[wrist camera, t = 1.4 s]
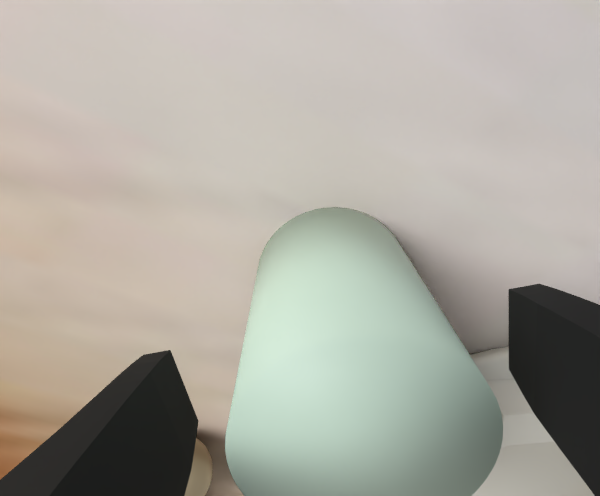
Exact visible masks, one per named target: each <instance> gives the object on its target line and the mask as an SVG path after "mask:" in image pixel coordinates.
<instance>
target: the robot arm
mask: <svg viewBox="0 0 600 496" xmlns="http://www.w3.org/2000/svg"><path fill="white" fill-rule="evenodd" d="M509 370H510V372H511V374H512V376H513V378H514V379H515V381H516V383H517V385H518V387H519V388H520V390H521V392H522V394H523V396H524V397H525V399H526V401H527V402H528V404H529V406H530V407H531V409H532V411H533V413H534V414H535V416H536V417H537V418H538V420H539V421H540V422H541V424H542V425H543V427H544V428H545V429H546V431H547V432H548V433H549V435H550V436H551V438H552V439H553V440H554V442H555V443H556V444H557V446H558V447H559V448H560V450H561V451H562V452H563V454H564V455H565V456H566V458H567V459H568V460H569V462H570V463H571V464H572V466H573V467H574V468H575V470H576V471H577V472H578V474H579V475H580V477H581V478H582V479H583V481H584V482H585V483H586V485H587V486H588V487H589V489H590V490H591V491H592V493H593V494H594V495H595V496H600V305H598V304H596V303H593V302H590V301H588V300H585V299H582V298H580V297H577V296H574V295H571V294H569V293H566V292H563V291H560V290H557V289H554V288H551V287H548V286H545V285H541V284H536V285H530V286H525V287H519V288H514V289H509ZM197 427H198V419H197V417H196V414H195V412H194V409H193V406H192V404H191V401H190V399H189V396H188V394H187V391H186V389H185V386H184V384H183V381H182V379H181V376H180V374H179V371H178V368H177V366H176V363H175V361H174V358H173V356H172V353H171V351H170V350H168V351H163V352H157V353H152V354H146V355H143V356H141V357H140V358H139V359H138V360H136V361H135V362H134V363H132V364H131V365H130V366H129V367H128V368H127V369H125V370H124V371H123V372H122V373H121V374H120V375H119V376H118V377H116V378H115V379H114V380H113V381H112V382H111V383H110V384H109V385H108V386H106V387H105V388H104V389H103V390H102V391H101V392H100V393H99V394H98V395H97V396H96V397H94V398H93V399H92V400H91V401H90V402H89V403H88V404H87V405H86V406H84V407H83V408H82V409H81V410H80V411H79V412H78V413H77V414H76V415H75V416H73V417H72V418H71V419H70V420H69V421H68V422H67V423H66V424H65V425H64V426H62V427H61V428H60V429H59V430H58V431H57V432H56V433H55V434H53V435H52V436H51V437H50V438H49V439H48V440H46V441H45V442H44V443H43V444H42V445H41V446H39V447H38V448H37V449H36V450H35V451H34V452H32V453H31V454H30V455H29V456H28V457H27V458H25V459H24V460H23V461H22V462H21V463H20V464H18V465H17V466H16V467H15V468H14V469H13V470H11V471H10V472H9V473H8V474H7V475H5V476H4V477H3V478H2V479H1V480H0V496H185V492H186V488H187V484H188V481H189V477H190V473H191V469H192V463H193V456H194V450H195V443H196V435H197Z"/></svg>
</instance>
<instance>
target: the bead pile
mask: <svg viewBox="0 0 600 496" xmlns="http://www.w3.org/2000/svg"><path fill="white" fill-rule="evenodd" d="M212 473H213V465H212V460H211V456H210V454H209V451H208V450H207V448H206V446H205V445H204V444H203V443H202V442H201V441H200V440H199V439H197V438H196V443H195V450H194V456H193V463H192V469H191V473H190V477H189V481H188V484H187V488H186V492H185V496H205V495H206V493H207V491H208V489H209V486H210V483H211V480H212Z"/></svg>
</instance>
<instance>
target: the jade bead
mask: <svg viewBox="0 0 600 496" xmlns="http://www.w3.org/2000/svg"><path fill="white" fill-rule="evenodd" d="M502 440H503V421H502V414H501V410H500V407H499V404H498V401H497V399H496V397H495V395H494V393H493V392H492V390H491V388H490V386H489V385H488V383H487V381H486V380H485V378H484V377H483V375H482V374H481V372H480V370H479V369H478V367H477V366H476V364H475V363H474V361H473V359H472V358H471V356H470V355H469V353H468V351H467V350H466V348H465V347H464V345H463V344H462V342H461V340H460V339H459V337H458V336H457V334H456V333H455V331H454V329H453V328H452V326H451V325H450V323H449V321H448V320H447V318H446V317H445V315H444V314H443V312H442V310H441V309H440V307H439V306H438V304H437V302H436V301H435V299H434V298H433V296H432V295H431V293H430V291H429V290H428V288H427V287H426V285H425V284H424V282H423V280H422V279H421V277H420V276H419V274H418V272H417V271H416V269H415V268H414V266H413V265H412V263H411V261H410V260H409V258H408V257H407V255H406V254H405V252H404V250H403V249H402V247H401V246H400V244H399V242H398V241H397V239H396V238H395V236H394V235H393V234H392V233H391V231H390V230H389V229H388V228H387V227H386V226H384V225H383V224H382V223H381V222H379V221H378V220H377V219H375V218H373V217H371V216H369V215H367V214H365V213H362V212H360V211H357V210H352V209H348V208H338V207H332V208H321V209H315V210H312V211H309V212H305V213H303V214H301V215H299V216H296V217H295V218H293V219H291V220H290V221H288V222H287V223H285V224H284V225H283V226H282V227H280V228H279V229H278V230H277V231H276V232H275V233H274V234H273V236H272V237H271V238H270V240H269V241H268V243H267V244H266V246H265V248H264V250H263V252H262V255H261V258H260V261H259V266H258V271H257V276H256V281H255V286H254V291H253V296H252V302H251V307H250V312H249V317H248V322H247V327H246V332H245V338H244V343H243V348H242V353H241V358H240V363H239V369H238V374H237V379H236V384H235V389H234V394H233V399H232V405H231V410H230V415H229V420H228V425H227V430H226V436H225V452H226V459H227V464H228V467H229V470H230V473H231V475H232V477H233V479H234V481H235V483H236V485H237V486H238V488H239V489H240V490H241V492H242V493H243V494H244V496H472V495H473V494H474V493H475V492H476V491H477V490H478V489H479V488H480V486H481V485H482V484H483V483H484V481H485V480H486V479H487V477H488V476H489V474H490V472H491V471H492V469H493V467H494V466H495V463H496V461H497V458H498V456H499V453H500V449H501V445H502Z"/></svg>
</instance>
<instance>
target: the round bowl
mask: <svg viewBox="0 0 600 496" xmlns="http://www.w3.org/2000/svg"><path fill="white" fill-rule="evenodd" d="M470 356H471V358H472V359H473V361H474V363H475V364H476V366H477V367H478V369H479V370H480V372H481V374H482V375H483V377H484V378H485V380H486V381H487V383H488V385H489V386H490V388H491V390H492V392H493V393H494V395H495V397H496V399H497V401H498V404H499V407H500V410H501V414H502V421H503V440H502V445H501V449H500V453H499V456H498V458H497V461H496V463H495V466H494V467H493V469H492V471H491V472H490V474H489V476H488V477H487V479H486V480H485V481H484V483H483V484H482V485H481V486H480V488H479V489H478V490H477V491H476V492H475V493H474V494H473V495H472V496H595V495H594V494H593V493H592V491H591V490H590V489H589V487H588V486H587V485H586V483H585V482H584V481H583V479H582V478H581V477H580V475H579V474H578V472H577V471H576V470H575V468H574V467H573V466H572V464H571V463H570V462H569V460H568V459H567V458H566V456H565V455H564V454H563V452H562V451H561V450H560V448H559V447H558V446H557V444H556V443H555V442H554V440H553V439H552V438H551V436H550V435H549V433H548V432H547V431H546V429H545V428H544V427H543V425H542V424H541V422H540V421H539V420H538V418H537V417H536V416H535V414H534V413H533V411H532V409H531V407H530V406H529V404H528V402H527V401H526V399H525V397H524V396H523V394H522V392H521V390H520V388H519V387H518V385H517V383H516V381H515V379H514V378H513V376H512V374H511V372H510V370H509V347H503V348H496V349H492V350H488V351H484V352H480V353H476V354H472V355H470Z"/></svg>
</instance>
